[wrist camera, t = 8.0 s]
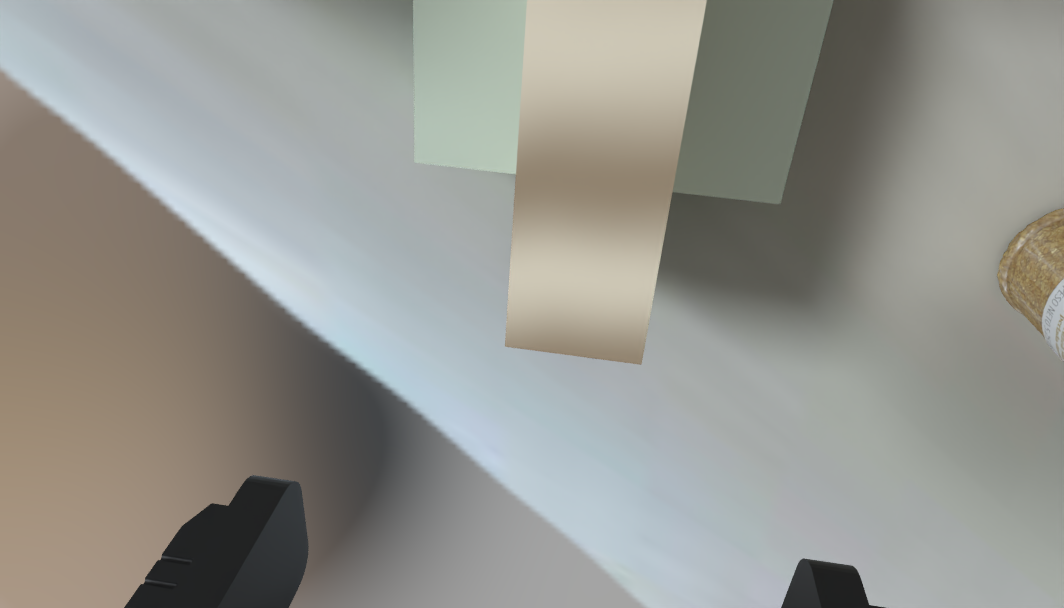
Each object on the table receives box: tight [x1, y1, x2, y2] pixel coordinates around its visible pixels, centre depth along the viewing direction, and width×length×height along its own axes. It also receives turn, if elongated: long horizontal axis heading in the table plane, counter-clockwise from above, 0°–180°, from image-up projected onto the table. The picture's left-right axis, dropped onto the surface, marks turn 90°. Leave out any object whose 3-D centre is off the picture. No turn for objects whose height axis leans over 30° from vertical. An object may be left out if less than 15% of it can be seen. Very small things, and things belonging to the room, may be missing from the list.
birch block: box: [505, 0, 707, 365], centre depth 20 cm, size 12×4×5 cm, turn 176°
